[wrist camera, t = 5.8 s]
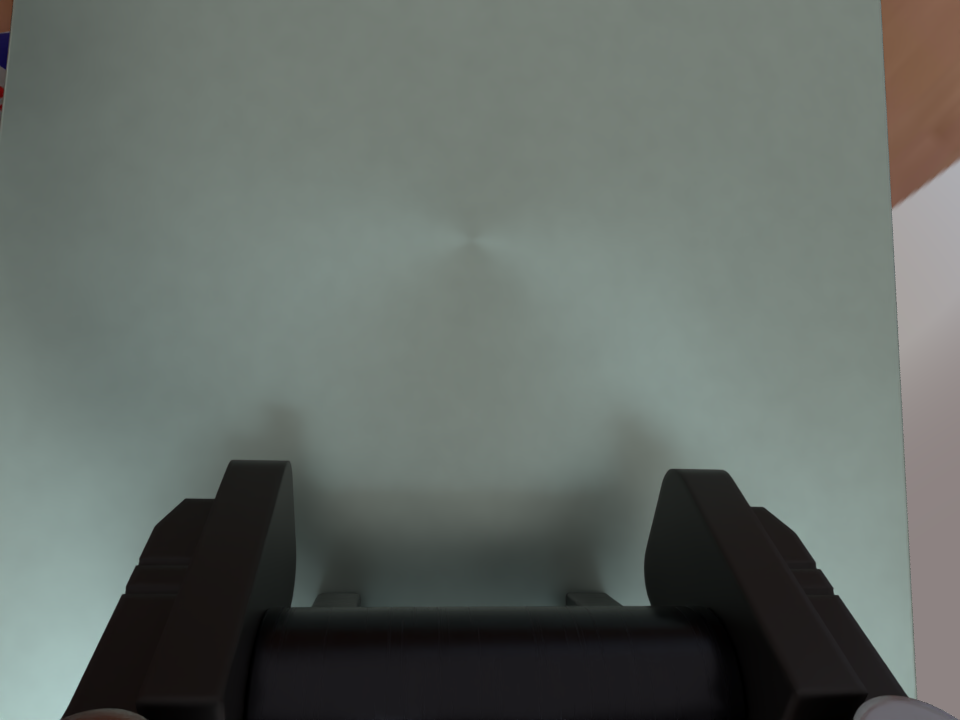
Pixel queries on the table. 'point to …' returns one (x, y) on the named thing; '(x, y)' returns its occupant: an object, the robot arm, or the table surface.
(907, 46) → the table surface
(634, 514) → the lid
